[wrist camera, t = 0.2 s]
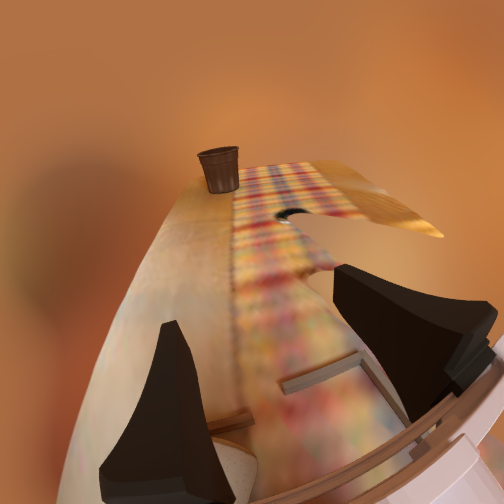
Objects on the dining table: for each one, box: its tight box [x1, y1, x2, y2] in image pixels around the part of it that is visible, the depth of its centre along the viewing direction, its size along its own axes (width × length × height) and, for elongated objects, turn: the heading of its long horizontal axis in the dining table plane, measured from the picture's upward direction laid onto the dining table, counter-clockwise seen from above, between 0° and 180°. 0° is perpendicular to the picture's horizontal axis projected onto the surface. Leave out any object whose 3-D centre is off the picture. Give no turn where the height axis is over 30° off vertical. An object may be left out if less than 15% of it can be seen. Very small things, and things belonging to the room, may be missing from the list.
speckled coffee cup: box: [211, 437, 258, 504], centre depth 18 cm, size 11×8×8 cm
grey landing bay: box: [282, 349, 429, 444], centre depth 22 cm, size 20×12×2 cm, turn 16°
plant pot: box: [197, 146, 239, 194], centre depth 103 cm, size 16×16×16 cm
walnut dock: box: [207, 412, 255, 435], centre depth 19 cm, size 15×14×2 cm
